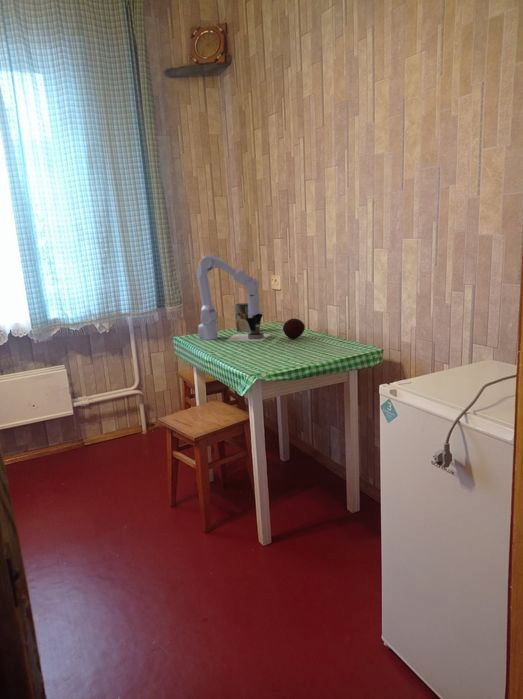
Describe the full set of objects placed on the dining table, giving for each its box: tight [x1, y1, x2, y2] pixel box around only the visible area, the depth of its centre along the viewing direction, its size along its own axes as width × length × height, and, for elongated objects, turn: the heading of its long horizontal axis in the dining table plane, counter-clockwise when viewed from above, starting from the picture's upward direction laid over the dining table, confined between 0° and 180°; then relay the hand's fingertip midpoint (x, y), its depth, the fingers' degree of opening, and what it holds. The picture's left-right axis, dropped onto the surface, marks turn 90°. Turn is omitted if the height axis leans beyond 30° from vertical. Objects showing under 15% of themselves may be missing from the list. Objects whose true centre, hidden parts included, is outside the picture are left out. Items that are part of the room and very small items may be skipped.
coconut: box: [282, 318, 306, 340], centre depth 261 cm, size 11×13×10 cm
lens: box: [250, 324, 261, 335], centre depth 264 cm, size 5×5×7 cm
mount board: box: [224, 332, 271, 342], centre depth 267 cm, size 20×16×3 cm
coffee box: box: [234, 302, 251, 333], centre depth 284 cm, size 9×6×16 cm
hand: (255, 329), depth 264 cm, fingers open, 7 cm apart
